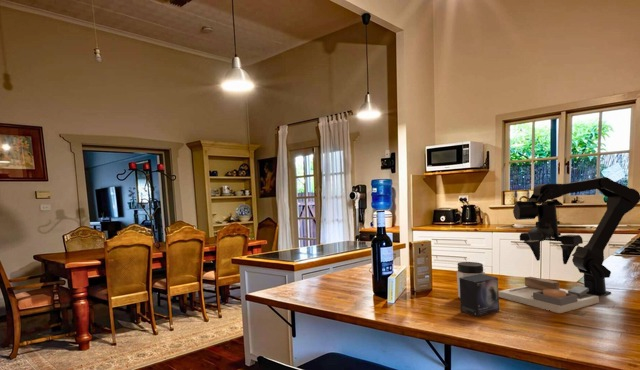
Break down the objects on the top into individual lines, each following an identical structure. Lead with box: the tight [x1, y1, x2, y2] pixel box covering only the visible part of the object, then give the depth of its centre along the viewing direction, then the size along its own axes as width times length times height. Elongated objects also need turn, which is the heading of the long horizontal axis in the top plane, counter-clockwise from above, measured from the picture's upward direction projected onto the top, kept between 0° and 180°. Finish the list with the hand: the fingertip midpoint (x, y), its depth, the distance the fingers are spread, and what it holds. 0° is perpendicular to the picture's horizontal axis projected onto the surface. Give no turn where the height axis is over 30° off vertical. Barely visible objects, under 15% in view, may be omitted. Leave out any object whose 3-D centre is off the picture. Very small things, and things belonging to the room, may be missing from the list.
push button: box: [543, 289, 566, 298], centre depth 104 cm, size 6×6×2 cm
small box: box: [459, 273, 501, 318], centre depth 103 cm, size 11×6×10 cm, turn 117°
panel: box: [498, 285, 600, 314], centre depth 111 cm, size 20×20×4 cm
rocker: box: [567, 285, 589, 296], centre depth 108 cm, size 5×4×1 cm
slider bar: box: [524, 276, 561, 290], centre depth 116 cm, size 3×10×3 cm, turn 24°
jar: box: [456, 261, 486, 299], centre depth 116 cm, size 9×8×12 cm
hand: (551, 262), depth 119 cm, fingers open, 9 cm apart
